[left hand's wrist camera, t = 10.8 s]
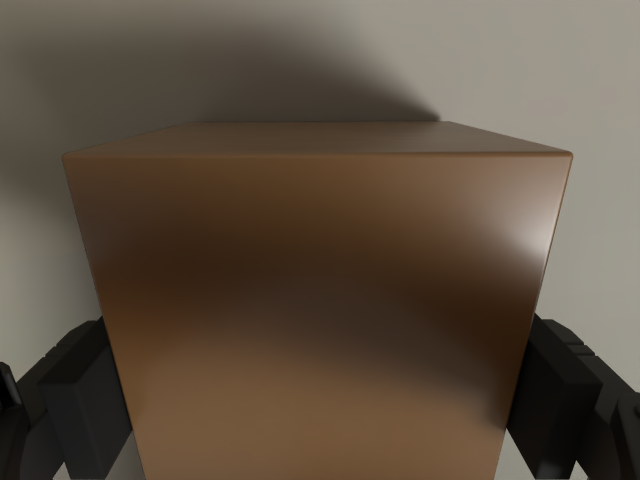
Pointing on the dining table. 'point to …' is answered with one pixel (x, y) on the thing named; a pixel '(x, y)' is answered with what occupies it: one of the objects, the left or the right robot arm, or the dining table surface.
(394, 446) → the thick board
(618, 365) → the dining table surface
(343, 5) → the dining table surface
